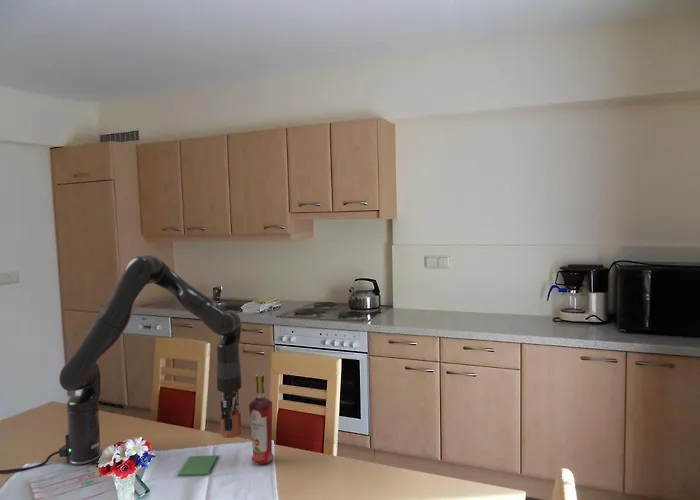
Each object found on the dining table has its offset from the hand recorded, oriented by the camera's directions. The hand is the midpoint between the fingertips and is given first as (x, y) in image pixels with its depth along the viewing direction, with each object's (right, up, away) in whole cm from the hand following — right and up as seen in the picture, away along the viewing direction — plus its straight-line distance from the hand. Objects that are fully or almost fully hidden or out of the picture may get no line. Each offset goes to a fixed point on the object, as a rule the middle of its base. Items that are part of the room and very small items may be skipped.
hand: (231, 425), depth 158 cm
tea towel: (-10, -13, -1) cm, 16 cm away
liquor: (+10, -12, +2) cm, 16 cm away
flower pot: (0, -3, 0) cm, 3 cm away
